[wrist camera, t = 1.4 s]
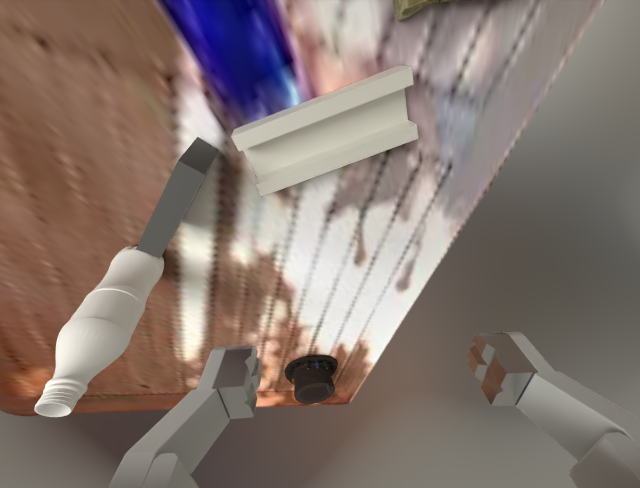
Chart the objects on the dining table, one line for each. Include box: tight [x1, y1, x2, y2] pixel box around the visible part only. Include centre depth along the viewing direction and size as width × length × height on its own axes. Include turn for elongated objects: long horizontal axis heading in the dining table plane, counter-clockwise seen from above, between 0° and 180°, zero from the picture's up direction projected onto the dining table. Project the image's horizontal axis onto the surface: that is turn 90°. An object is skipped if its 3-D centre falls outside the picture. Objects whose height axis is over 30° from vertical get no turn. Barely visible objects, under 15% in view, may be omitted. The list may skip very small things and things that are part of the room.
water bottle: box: [35, 246, 164, 417], centre depth 37 cm, size 7×7×25 cm
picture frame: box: [136, 137, 218, 258], centre depth 37 cm, size 3×14×10 cm, turn 143°
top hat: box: [285, 356, 337, 404], centre depth 72 cm, size 15×15×10 cm
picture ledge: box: [231, 65, 418, 197], centre depth 38 cm, size 9×24×4 cm, turn 108°
